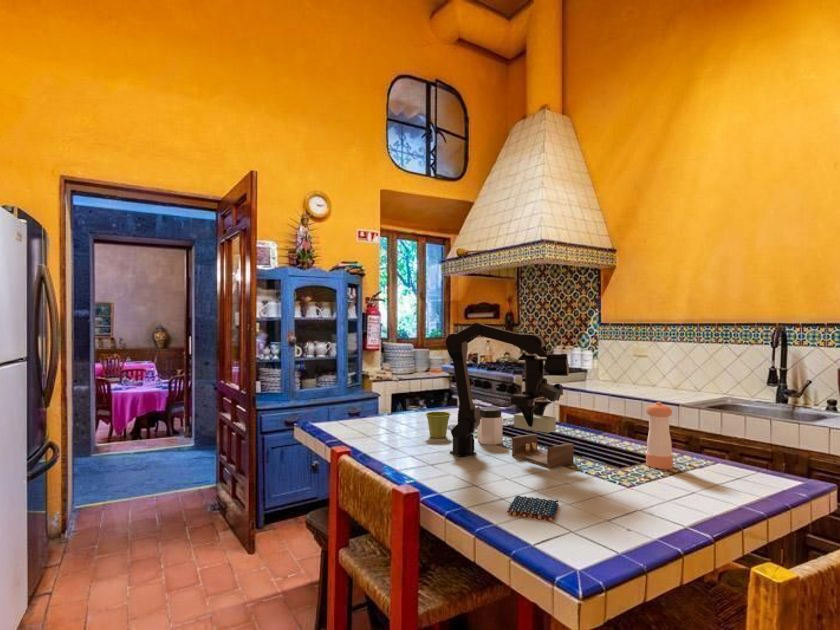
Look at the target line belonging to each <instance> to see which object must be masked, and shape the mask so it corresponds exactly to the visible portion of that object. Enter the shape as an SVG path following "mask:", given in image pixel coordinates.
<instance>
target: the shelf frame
mask: <svg viewBox="0 0 840 630" xmlns="http://www.w3.org/2000/svg"><path fill="white" fill-rule="evenodd" d="M511 446H512V447H511V456H512V457H514V456H515V457H514V458H517V457H518V458H517V459H520V460H524V461H527V462H529V463H532V464H535V465H538V466H541V467H545V468H547V469H555V468H560V467H563V466H568V465H572V464H574V463H575V461H574V460H575V459H574V451H575V450H574V443H571V442H569V443H563V444H559V445H552V446H547V447H546V450H547V451H543V450H540V449H538V433H531V434H524V435H519V436H513V437H512V438H511Z"/></svg>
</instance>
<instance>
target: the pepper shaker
mask: <svg viewBox="0 0 840 630" xmlns="http://www.w3.org/2000/svg"><path fill="white" fill-rule="evenodd" d="M645 410H646V414H647V415H648V435H647V440H646V447H647V448H646V449H647V451H646V453H645V465H646V466H647V465H648V466H647V467H649V466H650V467H649V468H652V467H653V468H652V469H656V468H658V469H657V470H671V469H673V467H674V457H673V454H672V438H671V434H670V416H672V413H673V411H672V408H671V407H670V406H668V405H666V404H663V403H662V402H661V401H657V402H655V403H653V404H650V405H648V406H647V407H646V409H645Z"/></svg>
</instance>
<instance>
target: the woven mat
mask: <svg viewBox="0 0 840 630" xmlns="http://www.w3.org/2000/svg"><path fill="white" fill-rule="evenodd" d="M559 507H560V505H559V500H558V499H556V500H554V499H546V498H539V497H533V496H531V497H530V496H529V497H528V496H523V495H522V496H521V495H515V497H514V499H513V501H512V502H511V504H510V505H509V507H508V510H506V513H508V514H507V516H510V517H511V515H512V516H513V517H518V518H521V517H522V518H526V517H527V519H531V518H532V517H533V519H535V520H536V519H538V520H539V521H540V520H542V519H543V521H546V520H547V519H548V521H549V522H552V521H553V520H554V519H556V514H557V511H558V508H559Z"/></svg>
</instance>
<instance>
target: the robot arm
mask: <svg viewBox="0 0 840 630" xmlns="http://www.w3.org/2000/svg"><path fill="white" fill-rule="evenodd" d="M480 336H481V337H484V338H488V339H492V340H494V341H499V342H501V343H506V344H509V345H512V346H514V347H516V348H518V349H520V350H522V351H524V352H522V354H521V355H520V356H519V357H518V358H517V360H518V361H524V377H522V379H521V382H524V390H523V391H521V393H518V394H512V395H511V396H510V398H509V405H512V406H516V407H518V408H519V410H520V411H521V412H520V413H522V414H523V416H524V418H525V420H526V422H527V424H528V426H529V427H532V425H533V415H534V414H535V415H542V416H544V414H545V411H546V408H547V407H548V406H549V405H550V404H552V403H554V402H556V401H559V400H560V398H561V396H563V395H564V389H563V384H561V383H555V384H549V383H548V379H547V378H546V377H545V376H544V371H545V373H547V374H548V376H549V377H550V376H553V377H554V376H555V377H558V376H559V377H569V373H570V364H569V358H568V353H551V351H549V349H548V348H547V347H546V346H545V340H544V338H543V337H542V336H541V335H539V334H533V333H519V332H514V331H510V330H507V329H501V328H498V327H495V326H490V325H487V324H484V323H482V322H474V323H472V325H470V326H468V327H467V328H464V329H463V330H460V331H458V332H456V333H455V332H454V333H451V334H449V335H447V337H446V338H445V341H444V342H445V347H446V350H447V353H448V356H449V357H450V359H451V360H452V365H453V371H454V372H453V373H454V377H455V383H456V391H457V397H458V404H459V405H458V411H457V424H456V425H455V426H454V427H453V428H452V429H450V433H451V434H450V435H451V437H452V450H450V451H449V453H450V454H452V455H455V456H458V457H460V458H462V457H463V458H464V457H468V456H469V457H470V456H475V455H477V452H475V438H474V434H473V433H474V432H475V430H476V429H478V426H479V424H480V419H482V418H481V416H480V408H481V407H480V406H477V407H476V405H475V404H474V400H473V396H472V389H471V381H470V376H469V369H468V364H467V357H468V351H469V349H468V348H469V346H468V345H469V343H471V342H472V341H474V340H475V339H476V338H478V337H480ZM527 353H528V354H527ZM538 357H539V358H538ZM544 377H545V378H544Z"/></svg>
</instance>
